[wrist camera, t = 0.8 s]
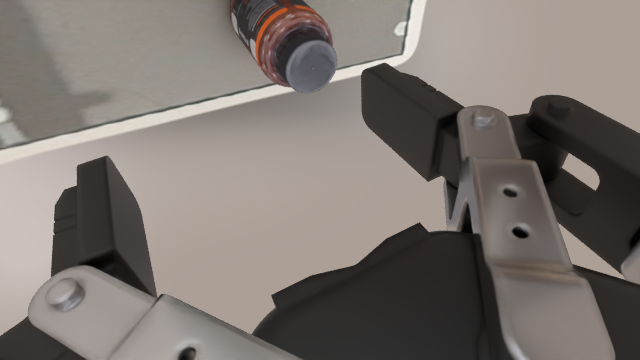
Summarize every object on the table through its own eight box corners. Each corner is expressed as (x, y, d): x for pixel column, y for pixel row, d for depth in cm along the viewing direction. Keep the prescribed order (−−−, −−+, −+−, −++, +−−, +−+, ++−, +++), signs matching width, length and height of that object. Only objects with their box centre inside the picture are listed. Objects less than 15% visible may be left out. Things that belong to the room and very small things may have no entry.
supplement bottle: (220, 34, 33) (259, 99, 26) (238, -37, 30) (289, 13, 22) (279, 50, 36) (329, 111, 29) (301, -13, 33) (363, 37, 26)
